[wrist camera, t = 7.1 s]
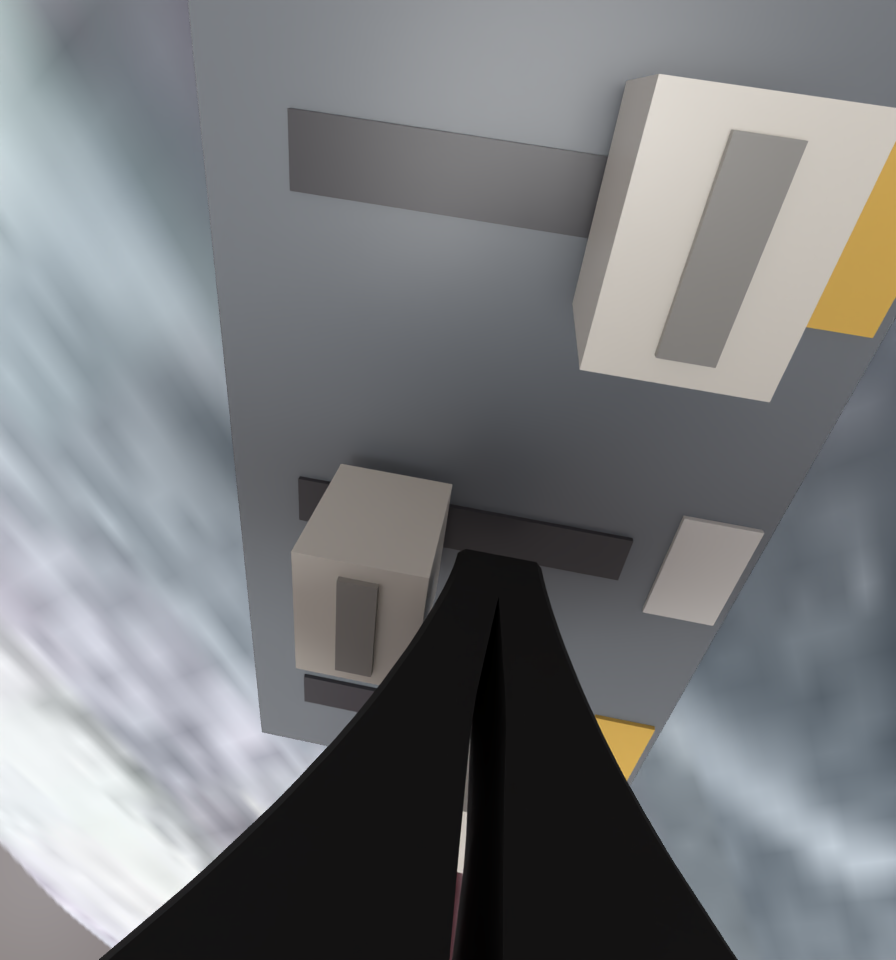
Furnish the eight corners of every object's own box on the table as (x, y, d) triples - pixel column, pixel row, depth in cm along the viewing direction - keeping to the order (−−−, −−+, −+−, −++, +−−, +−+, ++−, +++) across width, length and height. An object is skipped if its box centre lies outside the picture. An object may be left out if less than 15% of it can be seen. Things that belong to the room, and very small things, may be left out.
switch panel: (961, 26, 8) (1077, 5, 6) (611, 739, 17) (618, 810, 16) (250, -71, 8) (171, -114, 7) (288, 673, 18) (260, 735, 16)
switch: (452, 484, 10) (427, 582, 8) (435, 590, 12) (412, 697, 10) (340, 464, 10) (288, 555, 8) (338, 571, 12) (293, 672, 10)
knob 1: (802, 106, 7) (916, 110, 5) (715, 327, 8) (772, 406, 6) (626, 80, 7) (662, 73, 5) (572, 303, 8) (580, 374, 6)
